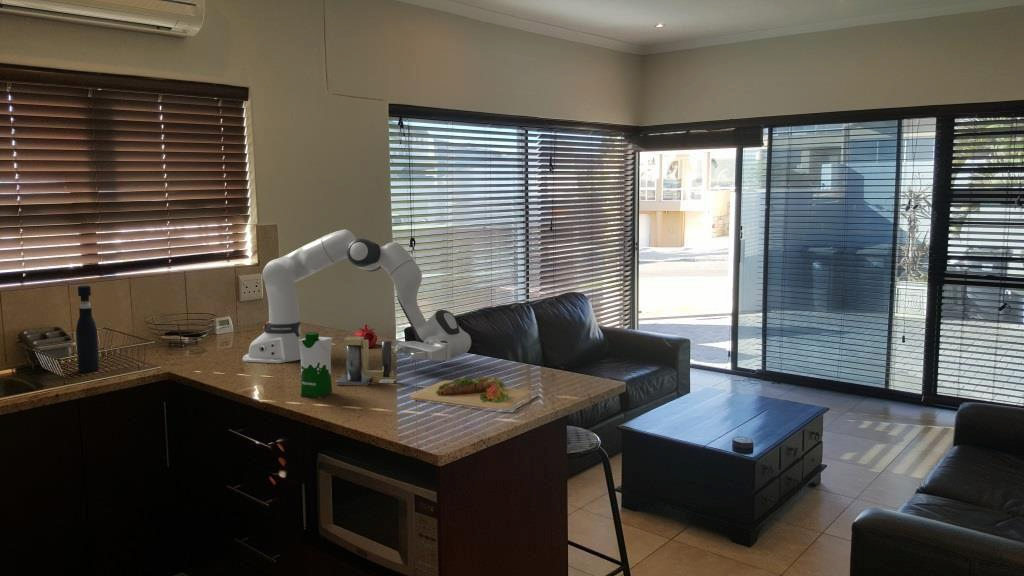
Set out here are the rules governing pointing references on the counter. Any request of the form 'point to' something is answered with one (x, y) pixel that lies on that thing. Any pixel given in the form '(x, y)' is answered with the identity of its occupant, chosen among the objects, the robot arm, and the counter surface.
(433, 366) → the counter surface
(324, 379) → the milk carton
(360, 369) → the post
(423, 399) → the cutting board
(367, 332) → the pomegranate
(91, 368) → the dark blue bottle
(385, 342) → the lever
